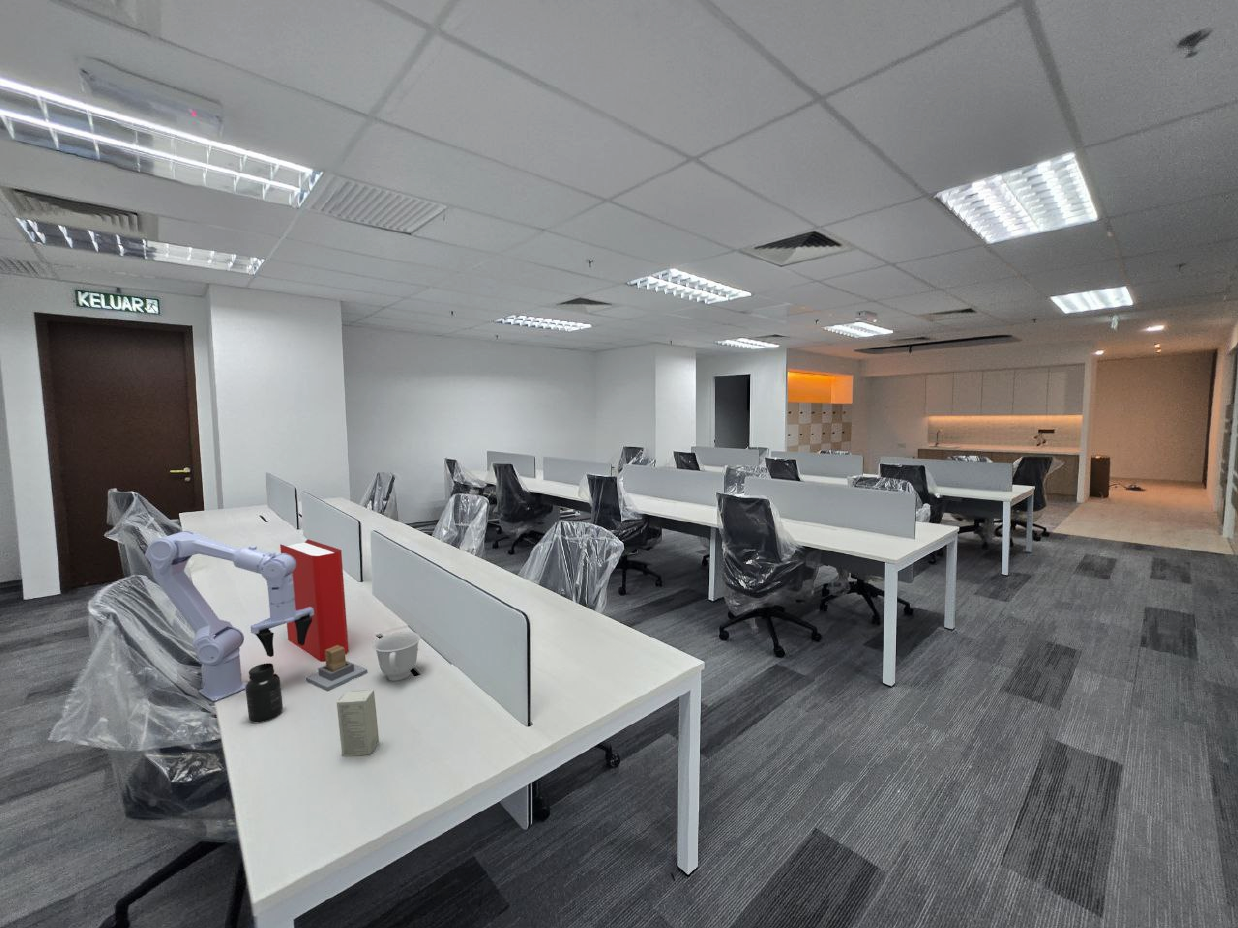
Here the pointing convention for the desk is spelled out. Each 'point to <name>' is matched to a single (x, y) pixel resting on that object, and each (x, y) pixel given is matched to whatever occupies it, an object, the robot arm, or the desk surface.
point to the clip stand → (335, 676)
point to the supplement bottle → (263, 693)
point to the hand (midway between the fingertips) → (286, 649)
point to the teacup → (397, 654)
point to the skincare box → (358, 722)
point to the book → (319, 596)
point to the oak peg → (335, 658)
